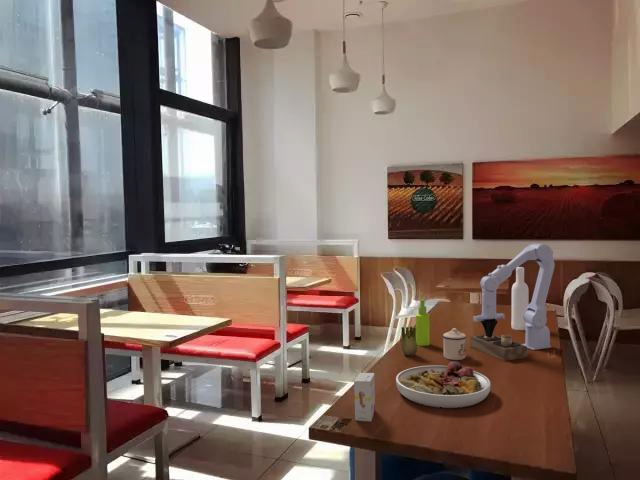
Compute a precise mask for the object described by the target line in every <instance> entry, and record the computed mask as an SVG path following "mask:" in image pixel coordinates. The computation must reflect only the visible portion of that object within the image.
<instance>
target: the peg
mask: <svg viewBox="0 0 640 480" xmlns="http://www.w3.org/2000/svg"><path fill="white" fill-rule="evenodd" d="M500 337H501V344H503V345H512V341H513V339H512V338H513V335H512V334H509V333H508V334H507V333H505V334H504V333H503V334H501V335H500Z"/></svg>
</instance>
